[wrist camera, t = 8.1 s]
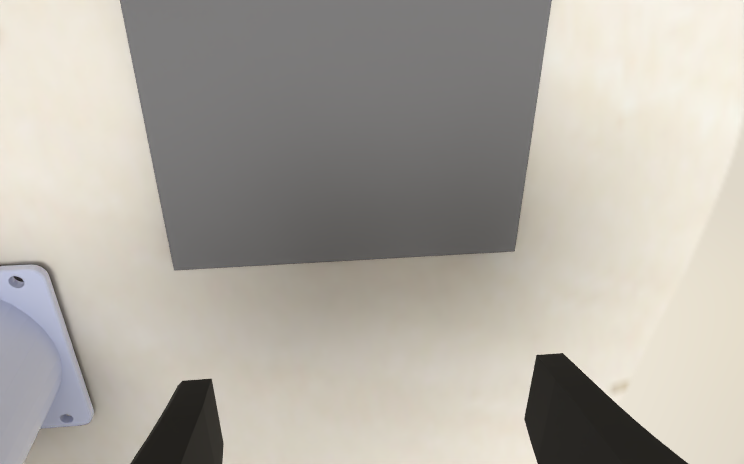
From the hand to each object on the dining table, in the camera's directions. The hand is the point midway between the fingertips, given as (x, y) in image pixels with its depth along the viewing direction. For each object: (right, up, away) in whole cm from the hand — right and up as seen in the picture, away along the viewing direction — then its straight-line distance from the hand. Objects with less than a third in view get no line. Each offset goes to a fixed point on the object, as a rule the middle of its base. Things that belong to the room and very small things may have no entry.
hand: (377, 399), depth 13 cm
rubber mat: (-1, +8, +6) cm, 11 cm away
